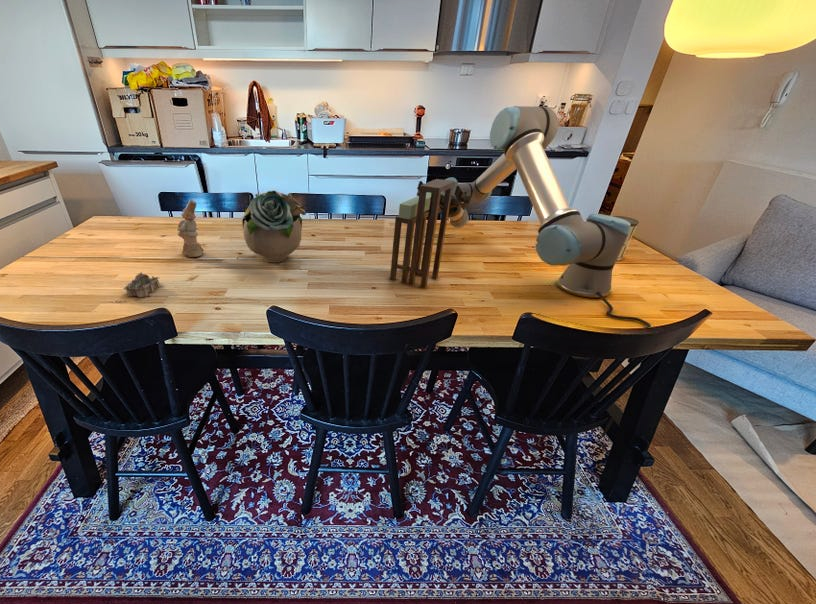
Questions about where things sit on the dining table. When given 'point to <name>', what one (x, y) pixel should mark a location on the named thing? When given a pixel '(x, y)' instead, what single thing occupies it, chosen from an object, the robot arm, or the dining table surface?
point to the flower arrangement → (273, 225)
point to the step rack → (422, 234)
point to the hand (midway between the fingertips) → (437, 187)
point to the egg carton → (142, 285)
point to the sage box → (412, 207)
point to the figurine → (189, 231)
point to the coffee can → (632, 228)
